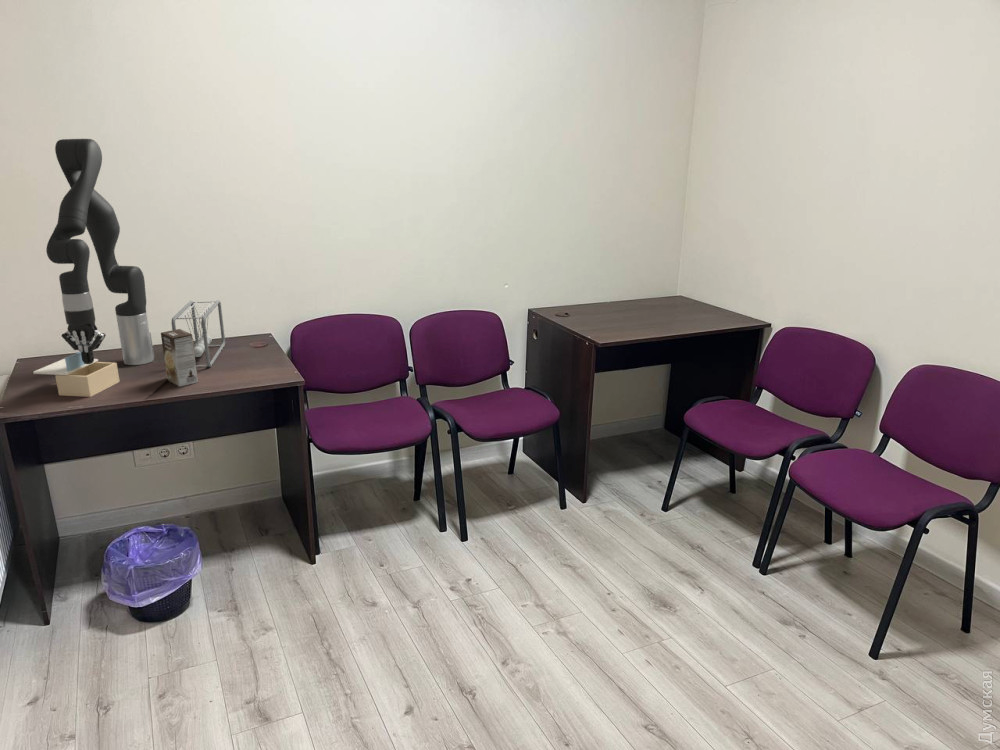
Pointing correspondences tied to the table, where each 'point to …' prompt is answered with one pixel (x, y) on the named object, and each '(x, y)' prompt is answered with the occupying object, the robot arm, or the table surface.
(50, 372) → the lid
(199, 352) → the newton's cradle
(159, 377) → the table surface
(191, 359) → the coffee box
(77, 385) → the storage box
